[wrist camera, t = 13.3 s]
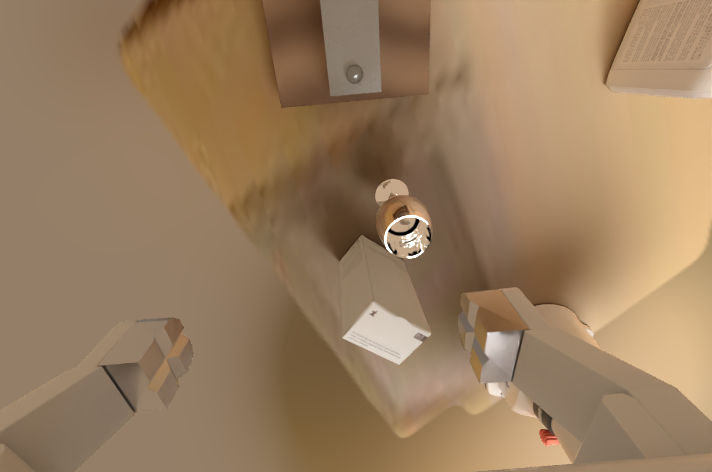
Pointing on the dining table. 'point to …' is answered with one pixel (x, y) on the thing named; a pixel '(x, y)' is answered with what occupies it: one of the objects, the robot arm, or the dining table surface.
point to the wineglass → (402, 220)
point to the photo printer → (666, 51)
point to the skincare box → (379, 302)
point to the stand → (308, 56)
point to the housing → (352, 46)
